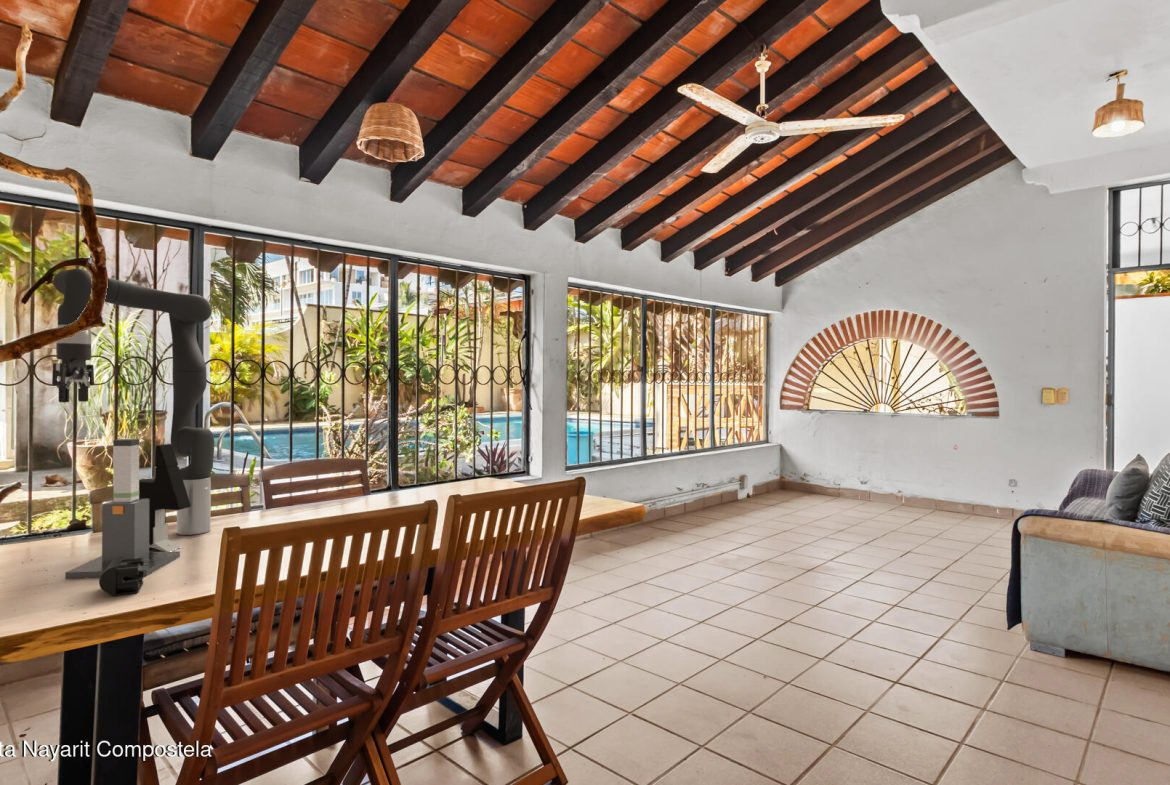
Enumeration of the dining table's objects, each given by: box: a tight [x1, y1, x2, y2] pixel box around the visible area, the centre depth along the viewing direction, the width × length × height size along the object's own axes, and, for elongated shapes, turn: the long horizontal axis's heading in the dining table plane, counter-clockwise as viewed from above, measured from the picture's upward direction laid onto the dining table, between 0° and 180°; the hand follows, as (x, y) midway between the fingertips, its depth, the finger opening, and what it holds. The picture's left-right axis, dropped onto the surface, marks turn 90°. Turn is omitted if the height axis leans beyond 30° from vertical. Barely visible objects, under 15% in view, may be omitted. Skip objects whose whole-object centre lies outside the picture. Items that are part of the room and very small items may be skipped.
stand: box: [64, 499, 181, 579], centre depth 167 cm, size 18×18×17 cm
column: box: [112, 438, 141, 503], centre depth 167 cm, size 4×4×25 cm
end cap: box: [98, 557, 145, 597], centre depth 149 cm, size 10×7×7 cm
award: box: [139, 443, 191, 552], centre depth 185 cm, size 15×5×30 cm, turn 84°
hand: (73, 401), depth 178 cm, fingers open, 8 cm apart
